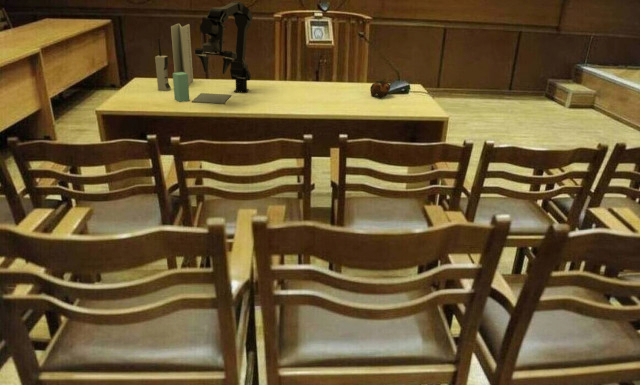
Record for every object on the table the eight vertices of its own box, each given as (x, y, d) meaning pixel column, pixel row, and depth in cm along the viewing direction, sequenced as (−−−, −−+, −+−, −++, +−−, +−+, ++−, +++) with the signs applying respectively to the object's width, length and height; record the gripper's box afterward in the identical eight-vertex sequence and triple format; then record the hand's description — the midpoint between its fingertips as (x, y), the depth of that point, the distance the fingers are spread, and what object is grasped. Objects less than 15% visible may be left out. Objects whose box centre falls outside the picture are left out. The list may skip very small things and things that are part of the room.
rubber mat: (201, 94, 248) (201, 93, 247) (231, 95, 247) (231, 94, 247) (191, 102, 233) (191, 101, 233) (223, 104, 232) (223, 102, 232)
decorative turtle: (365, 98, 254) (366, 82, 250) (375, 92, 266) (376, 77, 263) (383, 100, 250) (385, 84, 247) (392, 94, 263) (394, 79, 259)
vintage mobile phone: (167, 91, 250) (162, 39, 240) (158, 90, 251) (153, 38, 241) (170, 89, 254) (166, 38, 243) (161, 88, 254) (157, 37, 244)
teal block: (174, 99, 236) (172, 73, 231) (184, 98, 239) (182, 72, 234) (179, 102, 233) (177, 75, 228) (189, 100, 236) (187, 73, 231)
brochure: (186, 87, 258) (181, 27, 246) (175, 87, 258) (170, 26, 246) (193, 81, 271) (189, 24, 259) (183, 81, 271) (178, 23, 259)
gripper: (188, 33, 219) (186, 69, 222) (227, 36, 214) (224, 74, 217) (201, 36, 229) (199, 71, 232) (238, 40, 224) (236, 75, 227)
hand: (214, 73), depth 227 cm, fingers open, 9 cm apart
